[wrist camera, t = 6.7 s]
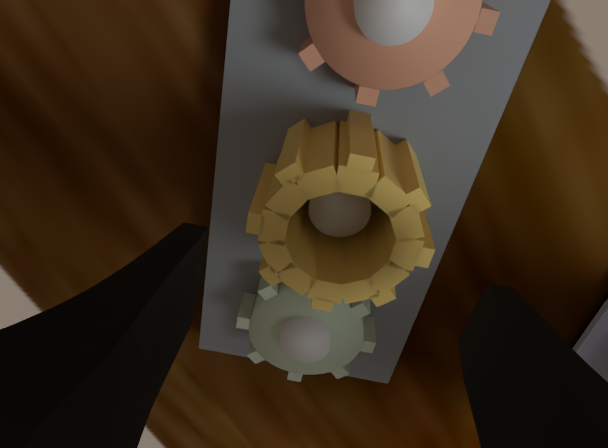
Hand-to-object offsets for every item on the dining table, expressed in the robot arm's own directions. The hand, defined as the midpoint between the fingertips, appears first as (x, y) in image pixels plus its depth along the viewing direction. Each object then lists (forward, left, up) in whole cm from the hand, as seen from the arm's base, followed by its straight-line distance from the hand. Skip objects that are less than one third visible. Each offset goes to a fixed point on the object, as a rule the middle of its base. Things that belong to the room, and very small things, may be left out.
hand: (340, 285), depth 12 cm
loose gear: (0, 0, -6) cm, 6 cm away
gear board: (0, 0, -7) cm, 7 cm away
